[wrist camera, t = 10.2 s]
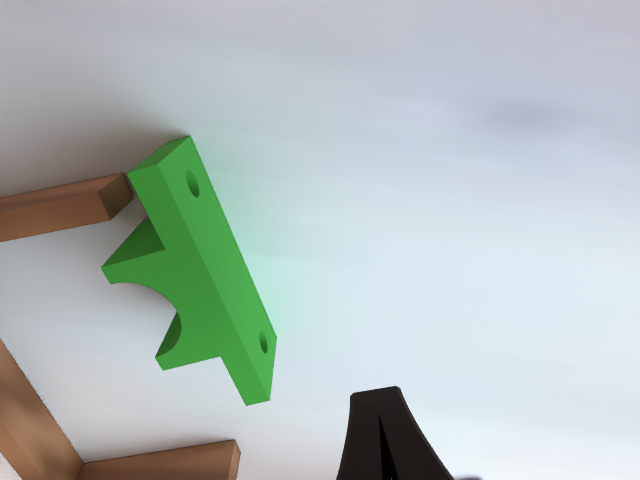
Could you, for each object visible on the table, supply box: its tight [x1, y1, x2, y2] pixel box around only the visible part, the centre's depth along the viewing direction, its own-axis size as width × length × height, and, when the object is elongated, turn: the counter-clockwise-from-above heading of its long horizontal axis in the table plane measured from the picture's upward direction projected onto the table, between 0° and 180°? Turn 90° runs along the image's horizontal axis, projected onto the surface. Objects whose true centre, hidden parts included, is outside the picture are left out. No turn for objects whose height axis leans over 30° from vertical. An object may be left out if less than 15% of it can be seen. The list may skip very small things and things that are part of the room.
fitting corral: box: [0, 173, 241, 480], centre depth 22 cm, size 18×11×2 cm, turn 11°
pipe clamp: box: [101, 136, 277, 406], centre depth 19 cm, size 11×4×5 cm, turn 16°
